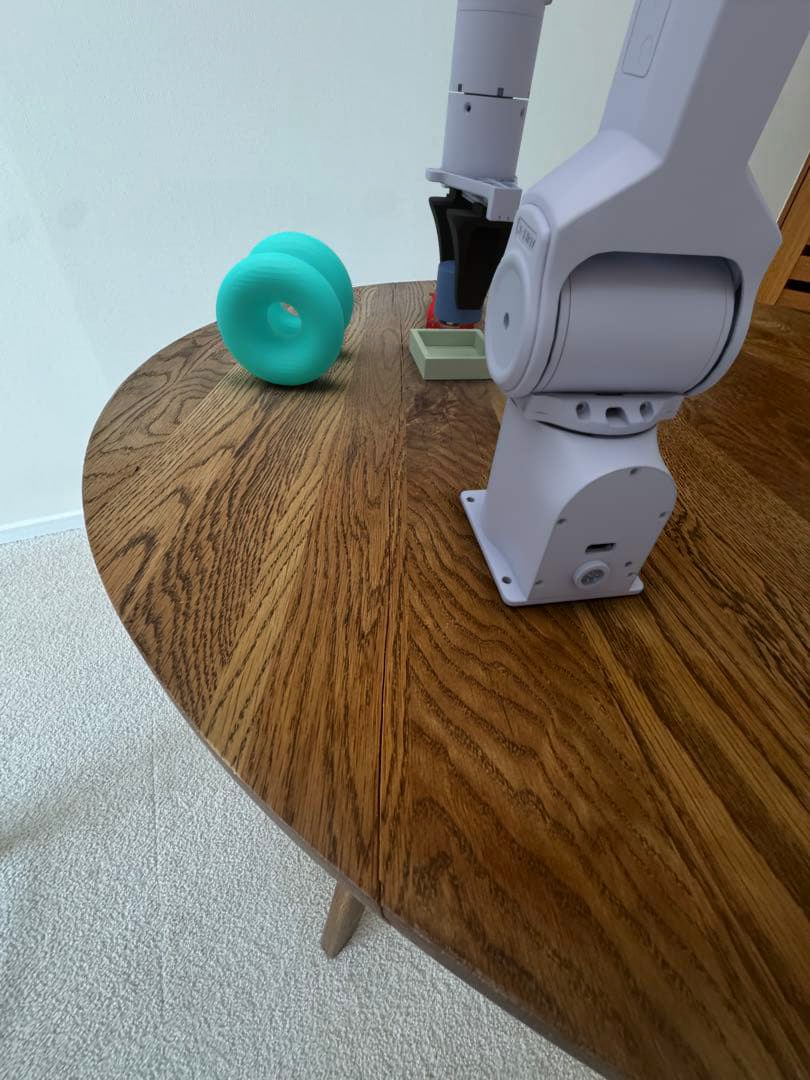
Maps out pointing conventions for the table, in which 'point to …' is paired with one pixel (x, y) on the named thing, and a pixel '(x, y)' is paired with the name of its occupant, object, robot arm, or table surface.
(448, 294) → the cylinder
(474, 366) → the tray
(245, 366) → the turquoise spool
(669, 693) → the table surface
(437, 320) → the race car
